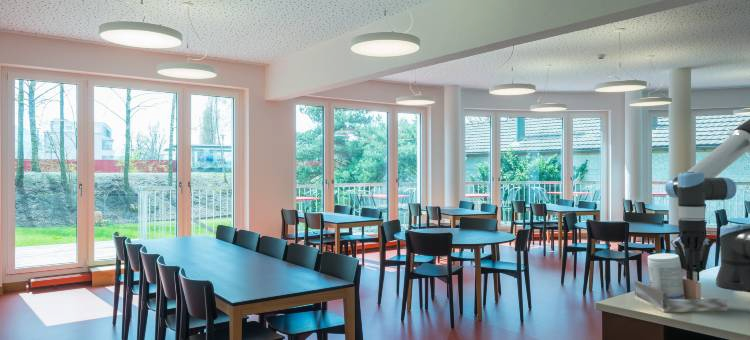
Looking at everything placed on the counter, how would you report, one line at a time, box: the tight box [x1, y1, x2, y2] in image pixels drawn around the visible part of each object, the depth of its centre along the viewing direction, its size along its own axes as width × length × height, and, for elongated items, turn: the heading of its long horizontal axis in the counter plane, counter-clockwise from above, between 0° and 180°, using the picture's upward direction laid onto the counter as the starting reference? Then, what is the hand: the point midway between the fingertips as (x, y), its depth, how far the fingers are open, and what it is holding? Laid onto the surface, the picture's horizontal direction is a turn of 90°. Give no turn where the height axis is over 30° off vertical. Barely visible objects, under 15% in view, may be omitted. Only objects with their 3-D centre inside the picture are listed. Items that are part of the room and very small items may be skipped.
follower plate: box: [682, 276, 702, 299], centre depth 170 cm, size 2×14×7 cm, turn 0°
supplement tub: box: [647, 252, 685, 300], centre depth 170 cm, size 10×10×15 cm
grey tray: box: [634, 280, 728, 313], centre depth 170 cm, size 20×18×6 cm
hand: (693, 290), depth 169 cm, fingers closed
